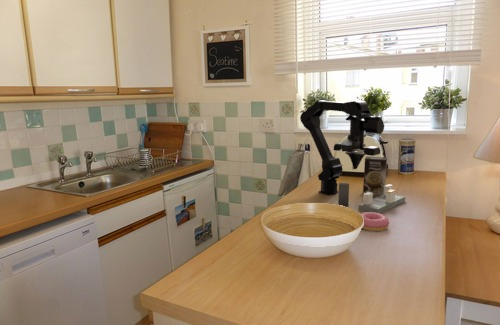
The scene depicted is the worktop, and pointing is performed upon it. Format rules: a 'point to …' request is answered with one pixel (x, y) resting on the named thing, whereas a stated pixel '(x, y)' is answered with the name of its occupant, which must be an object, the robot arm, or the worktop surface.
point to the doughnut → (375, 221)
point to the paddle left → (367, 198)
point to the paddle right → (387, 188)
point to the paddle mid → (390, 196)
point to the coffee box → (374, 175)
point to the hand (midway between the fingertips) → (355, 169)
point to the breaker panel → (381, 204)
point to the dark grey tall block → (343, 194)
